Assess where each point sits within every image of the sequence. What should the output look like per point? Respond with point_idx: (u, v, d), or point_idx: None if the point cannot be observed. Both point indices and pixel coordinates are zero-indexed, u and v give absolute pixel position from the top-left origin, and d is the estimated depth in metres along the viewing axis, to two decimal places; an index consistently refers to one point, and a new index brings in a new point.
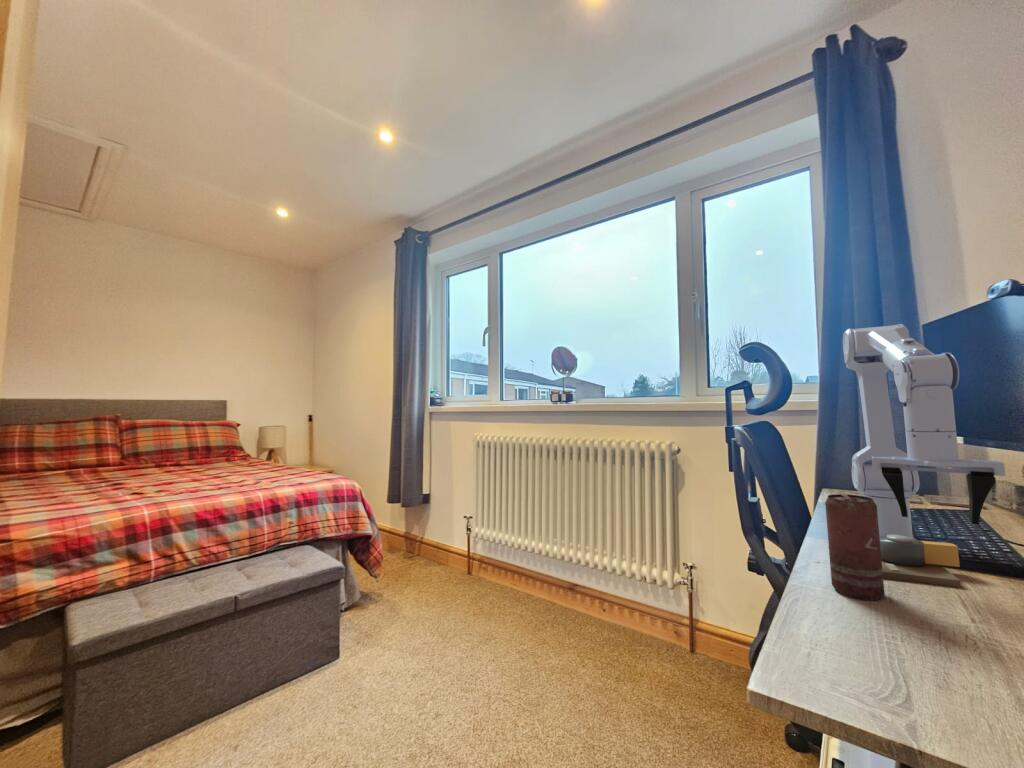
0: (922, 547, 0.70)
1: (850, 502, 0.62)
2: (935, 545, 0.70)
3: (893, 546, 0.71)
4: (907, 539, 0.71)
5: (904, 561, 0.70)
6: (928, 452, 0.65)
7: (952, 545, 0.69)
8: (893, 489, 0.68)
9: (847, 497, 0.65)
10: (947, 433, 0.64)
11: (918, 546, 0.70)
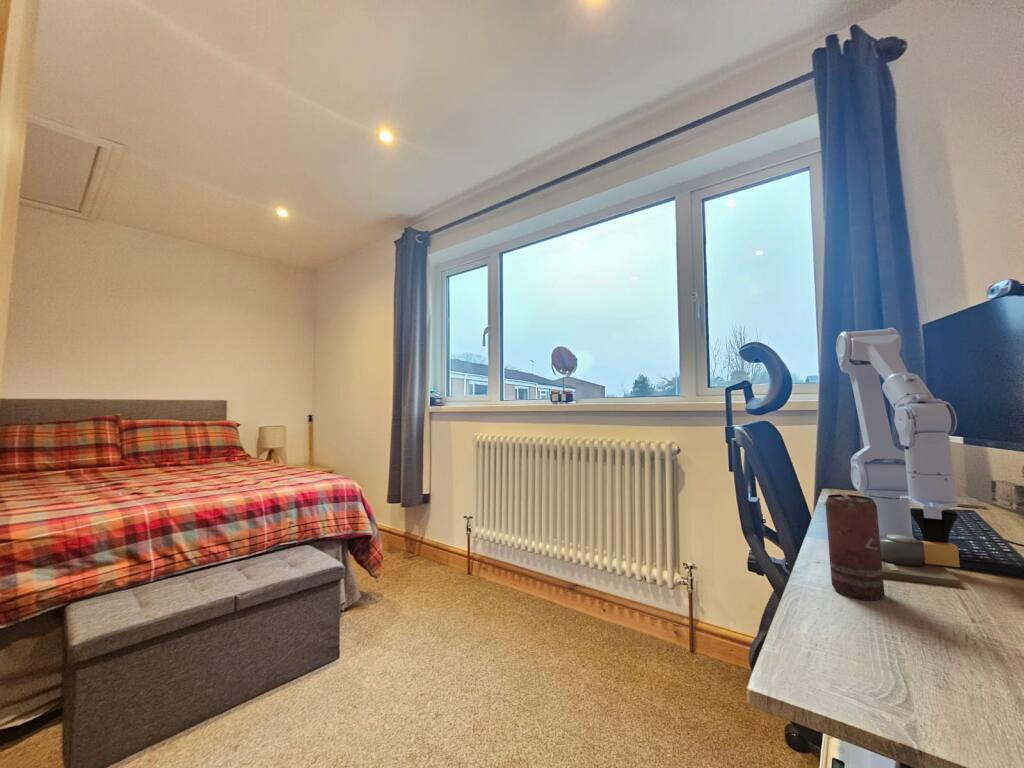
0: (922, 547, 0.70)
1: (850, 502, 0.62)
2: (935, 545, 0.70)
3: (893, 546, 0.71)
4: (907, 539, 0.71)
5: (904, 561, 0.70)
6: None
7: (952, 545, 0.69)
8: None
9: (847, 497, 0.65)
10: (910, 474, 0.73)
11: (918, 546, 0.70)
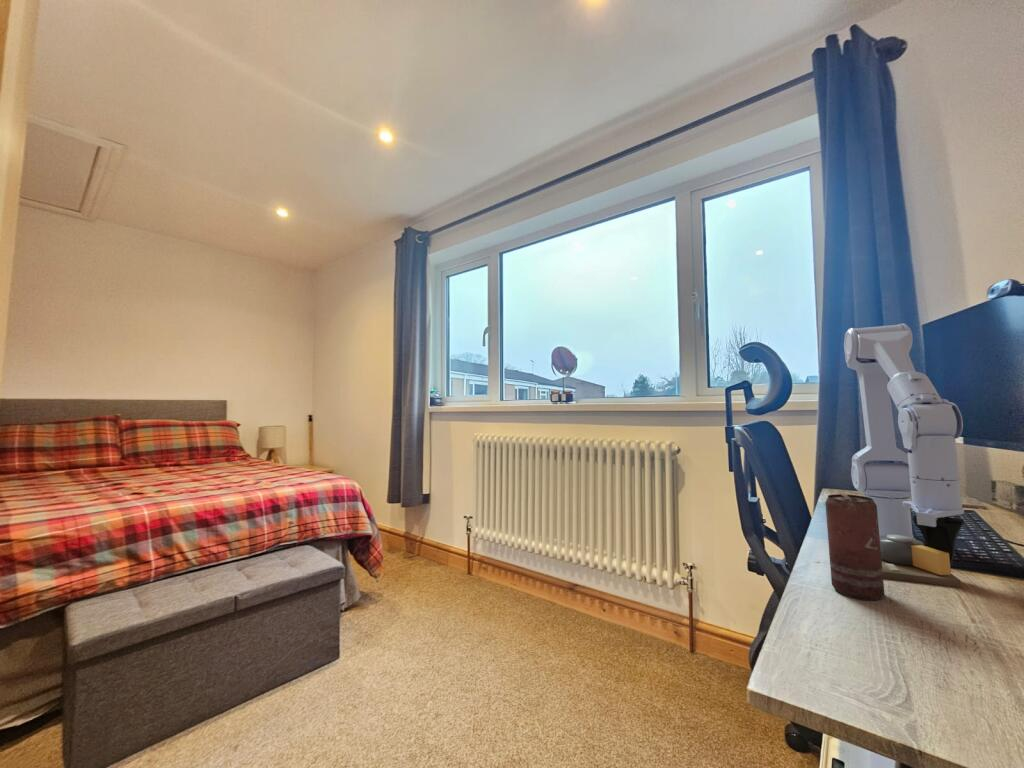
0: (904, 547, 0.70)
1: (850, 502, 0.62)
2: (920, 549, 0.68)
3: None
4: (898, 539, 0.72)
5: (882, 556, 0.72)
6: None
7: (938, 552, 0.66)
8: None
9: (847, 497, 0.65)
10: (912, 478, 0.70)
11: (896, 545, 0.71)
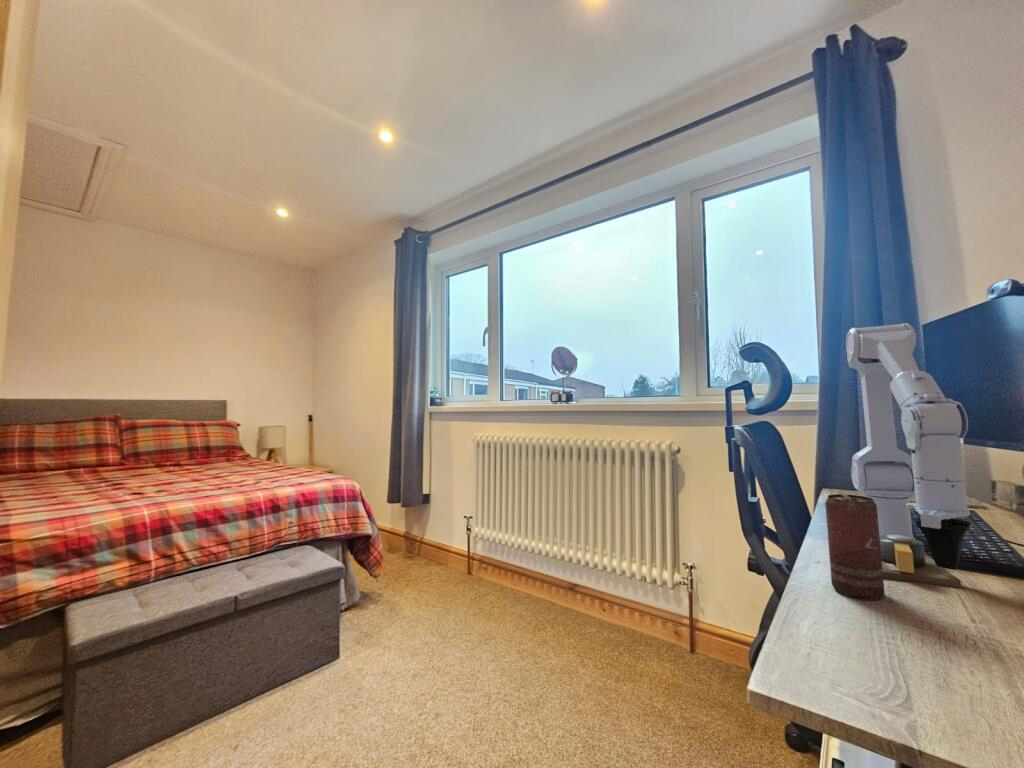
0: (888, 545, 0.72)
1: (850, 502, 0.62)
2: (895, 546, 0.70)
3: None
4: (891, 537, 0.73)
5: None
6: None
7: (901, 550, 0.68)
8: None
9: (847, 497, 0.65)
10: (915, 479, 0.68)
11: (881, 541, 0.73)
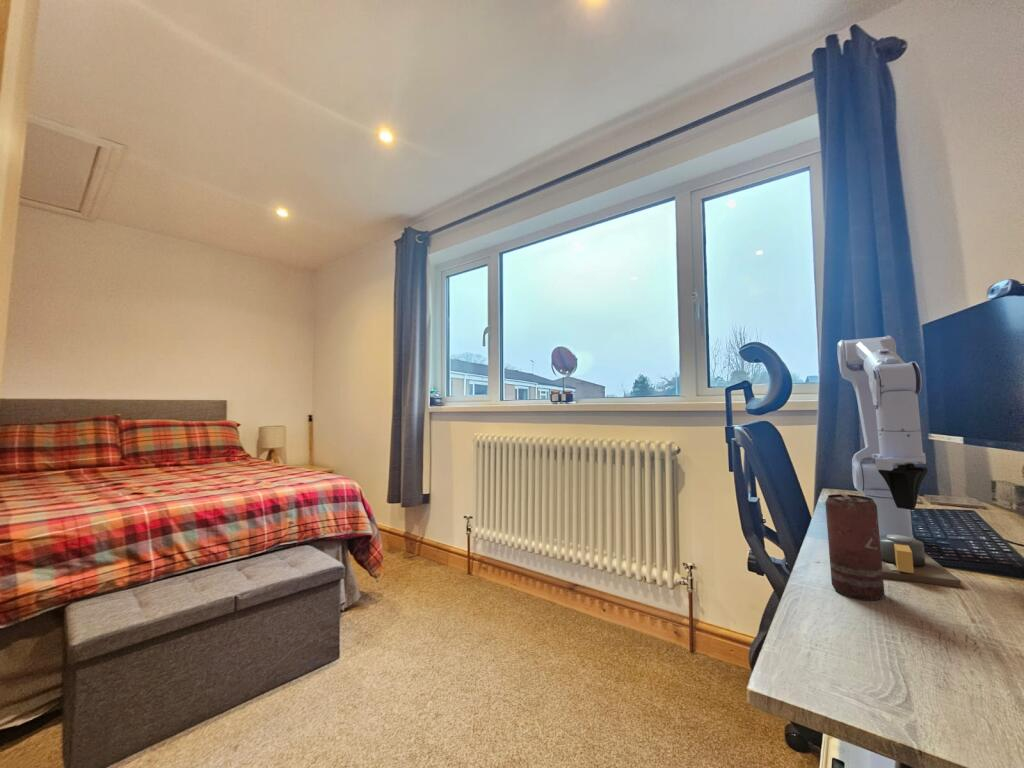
0: (887, 545, 0.72)
1: (850, 502, 0.62)
2: (895, 546, 0.70)
3: None
4: (891, 537, 0.73)
5: None
6: None
7: (900, 550, 0.68)
8: None
9: (847, 497, 0.65)
10: (878, 432, 0.77)
11: (881, 541, 0.73)
